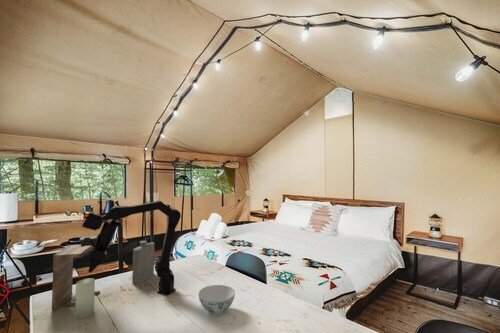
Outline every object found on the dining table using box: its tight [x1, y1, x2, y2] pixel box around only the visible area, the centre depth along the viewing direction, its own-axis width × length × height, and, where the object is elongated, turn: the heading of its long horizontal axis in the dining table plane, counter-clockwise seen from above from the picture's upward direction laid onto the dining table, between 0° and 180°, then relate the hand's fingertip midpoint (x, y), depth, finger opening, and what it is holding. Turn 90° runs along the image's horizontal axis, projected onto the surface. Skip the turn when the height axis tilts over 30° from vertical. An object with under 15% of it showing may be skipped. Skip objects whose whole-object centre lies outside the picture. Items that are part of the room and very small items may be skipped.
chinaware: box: [198, 284, 236, 317], centre depth 109 cm, size 15×15×8 cm
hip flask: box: [131, 240, 155, 286], centre depth 142 cm, size 16×4×20 cm, turn 166°
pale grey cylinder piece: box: [74, 277, 96, 320], centre depth 106 cm, size 6×6×13 cm
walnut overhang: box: [51, 244, 101, 311], centre depth 118 cm, size 14×16×22 cm
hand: (91, 268), depth 114 cm, fingers open, 9 cm apart
